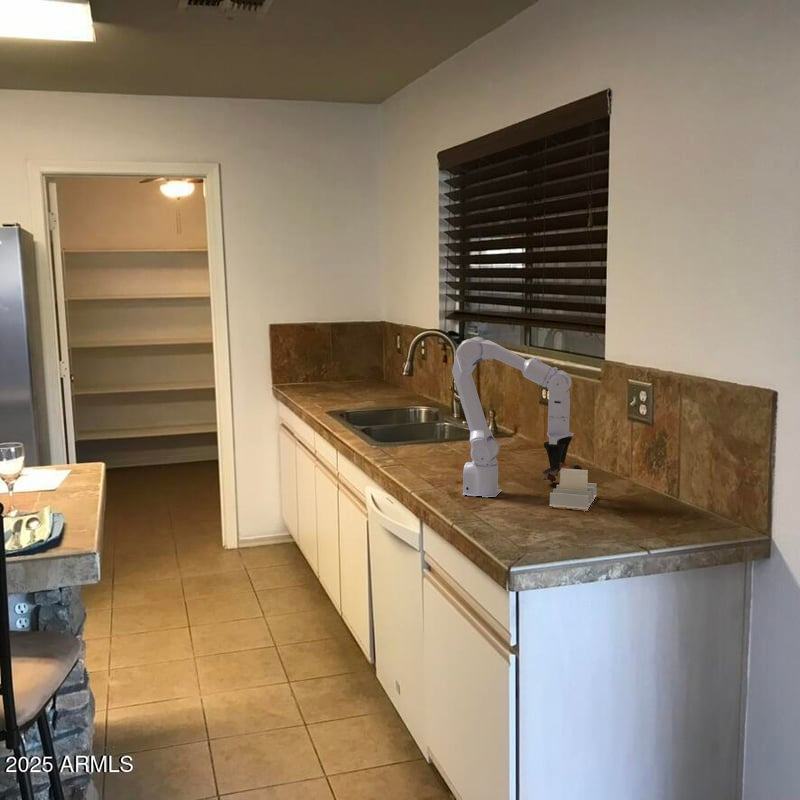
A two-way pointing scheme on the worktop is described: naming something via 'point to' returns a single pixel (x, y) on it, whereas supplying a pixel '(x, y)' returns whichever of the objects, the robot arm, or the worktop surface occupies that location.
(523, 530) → the worktop surface
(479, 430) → the robot arm
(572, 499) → the dish rack
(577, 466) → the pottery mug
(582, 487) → the beige rectangular block
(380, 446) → the worktop surface
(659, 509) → the worktop surface
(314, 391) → the worktop surface
